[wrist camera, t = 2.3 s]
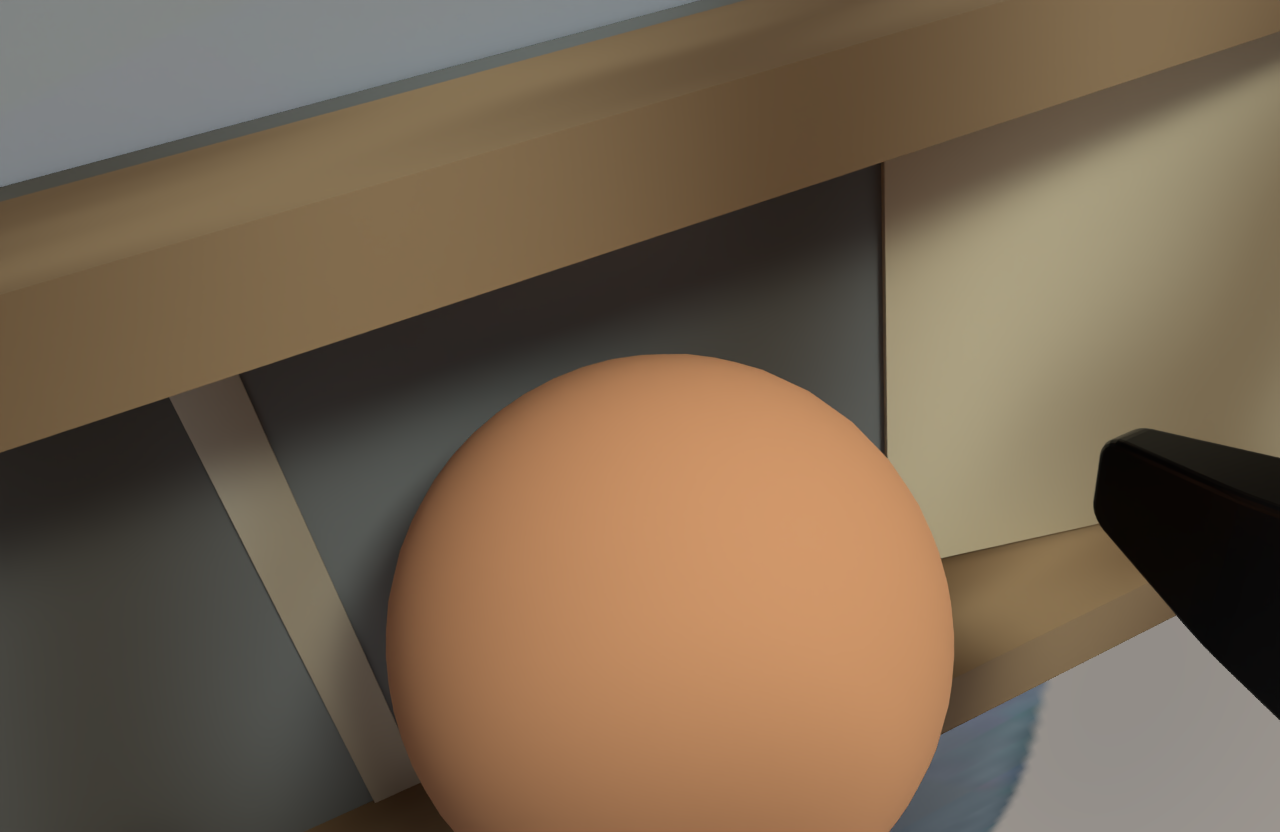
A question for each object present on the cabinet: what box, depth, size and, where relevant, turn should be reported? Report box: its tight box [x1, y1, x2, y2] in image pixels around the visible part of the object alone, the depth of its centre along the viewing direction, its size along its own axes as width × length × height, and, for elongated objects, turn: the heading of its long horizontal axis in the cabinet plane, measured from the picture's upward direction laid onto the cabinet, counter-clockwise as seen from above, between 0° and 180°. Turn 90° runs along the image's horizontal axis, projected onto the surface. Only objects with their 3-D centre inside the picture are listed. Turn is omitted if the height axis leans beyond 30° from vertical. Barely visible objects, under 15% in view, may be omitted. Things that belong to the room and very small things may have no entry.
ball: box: [386, 354, 954, 832], centre depth 9 cm, size 5×5×5 cm
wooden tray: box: [0, 0, 1280, 832], centre depth 10 cm, size 27×9×5 cm, turn 101°
